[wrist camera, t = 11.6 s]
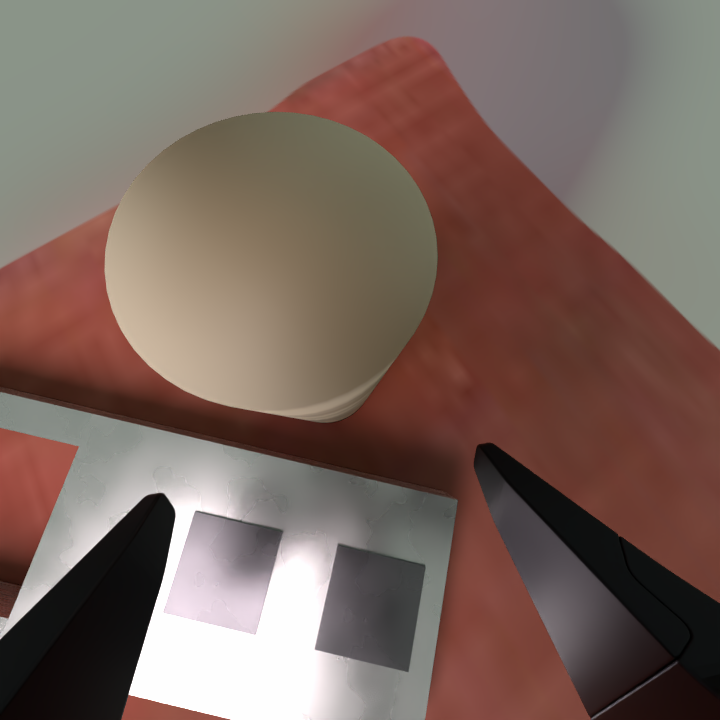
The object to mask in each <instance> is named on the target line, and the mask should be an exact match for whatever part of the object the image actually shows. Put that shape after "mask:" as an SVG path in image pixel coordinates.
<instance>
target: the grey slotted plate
mask: <svg viewBox="0 0 720 720" xmlns="http://www.w3.org/2000/svg"><path fill="white" fill-rule="evenodd" d="M0 428H4V429H9V430H13V431H17V432H21V433H25V434H30V435H34V436H38V437H42V438H47V439H51V440H55V441H59V442H63V443H68V444H72V445H76V446H79V448H78V451H77V453H76V456H75V458H74V460H73V463H72V465H71V468H70V470H69V473H68V475H67V478H66V480H65V482H64V485H63V487H62V490H61V492H60V495H59V497H58V499H57V502H56V504H55V507H54V509H53V512H52V514H51V517H50V519H49V521H48V524H47V526H46V529H45V531H44V534H43V536H42V538H41V541H40V543H39V546H38V548H37V551H36V553H35V555H34V558H33V560H32V563H31V565H30V568H29V570H28V573H27V575H26V577H25V580H24V582H23V585H22V586H20V585H16V584H12V583H8V582H4V581H0V639H1V638H2V637H3V636H4V635H5V634H6V633H7V632H8V631H9V630H10V629H11V628H12V627H13V626H14V625H15V624H16V623H17V622H18V621H19V620H20V619H21V618H22V617H23V616H24V615H25V614H26V613H27V612H28V611H29V610H30V609H31V608H32V607H33V606H34V605H35V604H36V603H37V602H38V601H39V600H40V599H41V598H42V597H43V596H44V595H45V594H46V593H47V592H48V591H49V590H50V589H51V588H52V587H53V586H54V585H56V584H57V583H58V582H59V581H60V580H61V579H62V578H63V577H64V576H65V575H66V574H67V573H68V572H69V571H70V570H71V569H72V568H73V567H74V566H75V565H76V564H77V563H78V562H79V561H80V560H81V559H82V558H83V557H84V556H85V555H86V554H87V553H88V552H89V551H90V550H91V549H92V548H93V547H94V546H95V545H96V544H97V543H98V542H99V541H100V540H101V539H102V538H103V537H104V536H105V535H106V534H107V533H108V532H109V531H110V530H111V529H112V528H113V527H114V526H115V525H116V524H117V523H118V522H119V521H120V520H121V519H122V518H123V517H124V516H125V515H126V514H127V513H128V512H129V511H130V510H131V509H132V508H133V507H134V506H135V505H136V504H137V503H138V502H139V501H140V500H141V499H142V498H144V497H145V496H147V495H149V494H155V493H164V494H165V495H166V496H167V498H168V499H169V501H170V502H171V504H172V505H173V507H174V509H175V512H176V518H175V524H174V529H173V534H172V539H171V544H170V549H169V554H168V559H167V564H166V569H165V574H164V578H163V581H162V585H161V588H160V592H159V595H158V598H157V602H156V605H155V608H154V612H153V615H152V618H151V622H150V625H149V628H148V632H147V635H146V638H145V642H144V645H143V648H142V652H141V655H140V658H139V662H138V665H137V668H136V672H135V675H134V678H133V682H132V685H131V688H130V692H129V695H133V696H137V697H142V698H146V699H150V700H154V701H158V702H162V703H166V704H170V705H175V706H179V707H183V708H187V709H191V710H195V711H199V712H204V713H208V714H212V715H216V716H220V717H224V718H228V719H232V720H425V716H426V709H427V703H428V696H429V689H430V683H431V676H432V669H433V663H434V656H435V649H436V643H437V636H438V629H439V623H440V616H441V609H442V603H443V596H444V589H445V583H446V576H447V569H448V563H449V556H450V549H451V543H452V536H453V529H454V523H455V516H456V509H457V503H458V500H457V499H456V498H454V497H452V496H451V495H449V494H448V493H446V492H445V491H441V490H437V489H432V488H428V487H424V486H420V485H416V484H411V483H407V482H403V481H399V480H394V479H390V478H386V477H382V476H377V475H373V474H369V473H365V472H360V471H356V470H352V469H348V468H343V467H339V466H335V465H331V464H327V463H322V462H318V461H314V460H310V459H305V458H301V457H297V456H293V455H288V454H284V453H280V452H276V451H271V450H267V449H263V448H259V447H254V446H250V445H246V444H242V443H237V442H233V441H229V440H225V439H221V438H216V437H212V436H208V435H204V434H199V433H195V432H191V431H187V430H182V429H178V428H174V427H170V426H165V425H161V424H157V423H153V422H148V421H144V420H140V419H136V418H132V417H127V416H123V415H119V414H115V413H110V412H106V411H102V410H98V409H93V408H89V407H85V406H81V405H76V404H72V403H68V402H64V401H59V400H55V399H51V398H47V397H42V396H38V395H34V394H30V393H26V392H21V391H17V390H13V389H9V388H4V387H0Z"/></svg>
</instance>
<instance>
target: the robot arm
mask: <svg viewBox="0 0 720 720" xmlns="http://www.w3.org/2000/svg"><path fill="white" fill-rule="evenodd" d="M474 469H475V472H476V475H477V477H478V480H479V483H480V485H481V488H482V491H483V494H484V496H485V499H486V502H487V504H488V507H489V510H490V513H491V515H492V518H493V520H494V522H495V525H496V527H497V529H498V531H499V533H500V535H501V537H502V539H503V541H504V543H505V545H506V547H507V549H508V551H509V553H510V555H511V557H512V560H513V562H514V564H515V566H516V568H517V570H518V572H519V574H520V576H521V578H522V580H523V582H524V584H525V586H526V588H527V590H528V592H529V594H530V596H531V598H532V600H533V602H534V604H535V606H536V609H537V611H538V613H539V615H540V617H541V619H542V621H543V623H544V625H545V627H546V629H547V631H548V633H549V635H550V637H551V639H552V641H553V643H554V645H555V647H556V649H557V651H558V653H559V655H560V658H561V660H562V662H563V664H564V666H565V668H566V670H567V672H568V674H569V676H570V678H571V680H572V682H573V684H574V686H575V688H576V690H577V692H578V694H579V696H580V698H581V700H582V702H583V704H584V707H585V709H586V711H587V713H588V715H589V716H590V717H591V720H720V603H718V602H717V601H715V600H714V599H712V598H711V597H709V596H708V595H706V594H704V593H703V592H701V591H700V590H698V589H697V588H695V587H694V586H692V585H690V584H689V583H687V582H686V581H684V580H683V579H681V578H680V577H678V576H677V575H675V574H674V573H672V572H671V571H669V570H668V569H666V568H665V567H663V566H662V565H660V564H659V563H658V562H656V561H655V560H653V559H652V558H650V557H649V556H648V555H646V554H645V553H643V552H642V551H641V550H639V549H638V548H636V547H635V546H634V545H632V544H631V543H629V542H628V541H627V540H625V539H624V538H623V537H619V536H618V534H617V533H616V532H614V531H613V530H611V529H610V528H609V527H607V526H606V525H605V524H603V523H602V522H600V521H599V520H598V519H596V518H595V517H594V516H592V515H591V514H589V513H588V512H587V511H585V510H584V509H583V508H581V507H580V506H578V505H577V504H576V503H574V502H573V501H572V500H570V499H569V498H567V497H566V496H565V495H563V494H562V493H561V492H559V491H558V490H556V489H555V488H554V487H552V486H551V485H550V484H548V483H547V482H545V481H544V480H543V479H541V478H540V477H539V476H537V475H536V474H534V473H533V472H532V471H530V470H529V469H528V468H526V467H525V466H523V465H522V464H521V463H519V462H518V461H517V460H515V459H514V458H512V457H511V456H510V455H508V454H507V453H506V452H504V451H503V450H501V449H500V448H499V447H497V446H496V445H494V444H493V443H484V444H479V445H478V446H477V448H476V453H475V458H474ZM175 518H176V512H175V509H174V507H173V505H172V504H171V502H170V501H169V499H168V498H167V496H166V495H165V494H164V493H155V494H149V495H147V496H145V497H144V498H142V499H141V500H140V501H139V502H138V503H137V504H136V505H135V506H134V507H133V508H132V509H131V510H130V511H129V512H128V513H127V514H126V515H125V516H124V517H123V518H122V519H121V520H120V521H119V522H118V523H117V524H116V525H115V526H114V527H113V528H112V529H111V530H110V531H109V532H108V533H107V534H106V535H105V536H104V537H103V538H102V539H101V540H100V541H99V542H98V543H97V544H96V545H95V546H94V547H93V548H92V549H91V550H90V551H89V552H88V553H87V554H86V555H85V556H84V557H83V558H82V559H81V560H80V561H79V562H78V563H77V564H76V565H75V566H74V567H73V568H72V569H71V570H70V571H69V572H68V573H67V574H66V575H65V576H64V577H63V578H62V579H61V580H60V581H59V582H58V583H57V584H56V585H54V586H53V587H52V588H51V589H50V590H49V591H48V592H47V593H46V594H45V595H44V596H43V597H42V598H41V599H40V600H39V601H38V602H37V603H36V604H35V605H34V606H33V607H32V608H31V609H30V610H29V611H28V612H27V613H26V614H25V615H24V616H23V617H22V618H21V619H20V620H19V621H18V622H17V623H16V624H15V625H14V626H13V627H12V628H11V629H10V630H9V631H8V632H7V633H6V634H5V635H4V636H3V637H2V638H1V639H0V720H121V718H122V715H123V712H124V708H125V705H126V702H127V698H128V695H129V692H130V688H131V685H132V682H133V678H134V675H135V672H136V668H137V665H138V662H139V658H140V655H141V652H142V648H143V645H144V642H145V638H146V635H147V632H148V628H149V625H150V622H151V618H152V615H153V612H154V608H155V605H156V602H157V598H158V595H159V592H160V588H161V585H162V581H163V578H164V574H165V569H166V564H167V559H168V554H169V549H170V544H171V539H172V534H173V529H174V524H175Z"/></svg>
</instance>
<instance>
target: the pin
mask: <svg viewBox="0 0 720 720" xmlns="http://www.w3.org/2000/svg"><path fill="white" fill-rule="evenodd" d="M437 260H438V254H437V239H436V234H435V229H434V224H433V220H432V217H431V214H430V211H429V209H428V206H427V203H426V201H425V199H424V197H423V195H422V193H421V191H420V189H419V188H418V186H417V184H416V183H415V182H414V180H413V179H412V177H411V176H410V174H409V173H408V172H407V171H406V169H405V168H404V167H403V166H402V165H401V164H400V163H399V162H398V161H397V160H396V158H395V157H393V156H392V155H391V154H390V153H389V152H387V151H386V150H385V149H384V148H383V147H382V146H380V145H379V144H377V143H376V142H374V141H373V140H371V139H370V138H368V137H367V136H365V135H363V134H361V133H359V132H357V131H356V130H354V129H352V128H350V127H347V126H345V125H342V124H339V123H337V122H334V121H331V120H328V119H324V118H320V117H316V116H312V115H305V114H298V113H287V112H266V113H254V114H248V115H242V116H236V117H232V118H229V119H225V120H221V121H218V122H215V123H212V124H210V125H207V126H205V127H203V128H200V129H198V130H196V131H194V132H192V133H190V134H188V135H186V136H185V137H183V138H181V139H179V140H178V141H176V142H175V143H173V144H172V145H170V146H169V147H168V148H166V149H165V150H163V151H162V152H161V153H160V154H159V155H158V156H157V157H155V158H154V159H153V160H152V161H151V162H150V163H149V164H148V165H147V166H146V167H145V168H144V169H143V170H142V172H141V173H140V174H139V175H138V176H137V177H136V178H135V180H134V181H133V183H132V184H131V186H130V187H129V189H128V190H127V192H126V193H125V195H124V196H123V199H122V200H121V202H120V204H119V206H118V208H117V210H116V212H115V215H114V218H113V221H112V224H111V227H110V230H109V234H108V240H107V245H106V250H105V278H106V287H107V293H108V297H109V300H110V304H111V307H112V311H113V313H114V315H115V318H116V320H117V322H118V324H119V326H120V329H121V331H122V332H123V334H124V335H125V337H126V338H127V340H128V341H129V343H130V344H131V346H132V347H133V349H134V350H135V351H136V352H137V353H138V354H139V355H140V357H141V358H142V359H143V360H144V361H145V362H146V363H147V364H148V365H149V366H150V367H151V368H152V369H154V370H155V371H156V372H157V373H159V374H160V375H161V376H162V377H163V378H165V379H166V380H168V381H169V382H171V383H173V384H174V385H176V386H178V387H179V388H181V389H183V390H184V391H186V392H189V393H191V394H193V395H196V396H198V397H200V398H203V399H205V400H208V401H211V402H215V403H219V404H222V405H226V406H230V407H235V408H241V409H246V410H252V411H258V412H263V413H269V414H275V415H280V416H286V417H291V418H297V419H303V420H308V421H314V422H320V423H332V422H337V421H341V420H343V419H346V418H348V417H349V416H351V415H352V414H354V413H355V412H356V411H357V410H358V409H359V408H360V407H361V406H362V405H363V403H364V402H365V401H366V399H367V398H368V396H369V395H370V394H371V392H372V391H373V390H374V388H375V387H376V385H377V384H378V383H379V381H380V380H381V378H382V377H383V376H384V374H385V373H386V372H387V370H388V369H389V367H390V366H391V365H392V363H393V362H394V361H395V359H396V358H397V356H398V355H399V354H400V352H401V351H402V349H403V348H404V347H405V345H406V344H407V343H408V341H409V340H410V338H411V337H412V336H413V334H414V333H415V331H416V329H417V327H418V326H419V324H420V322H421V320H422V318H423V317H424V315H425V312H426V310H427V307H428V304H429V302H430V299H431V297H432V293H433V288H434V284H435V280H436V272H437Z"/></svg>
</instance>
